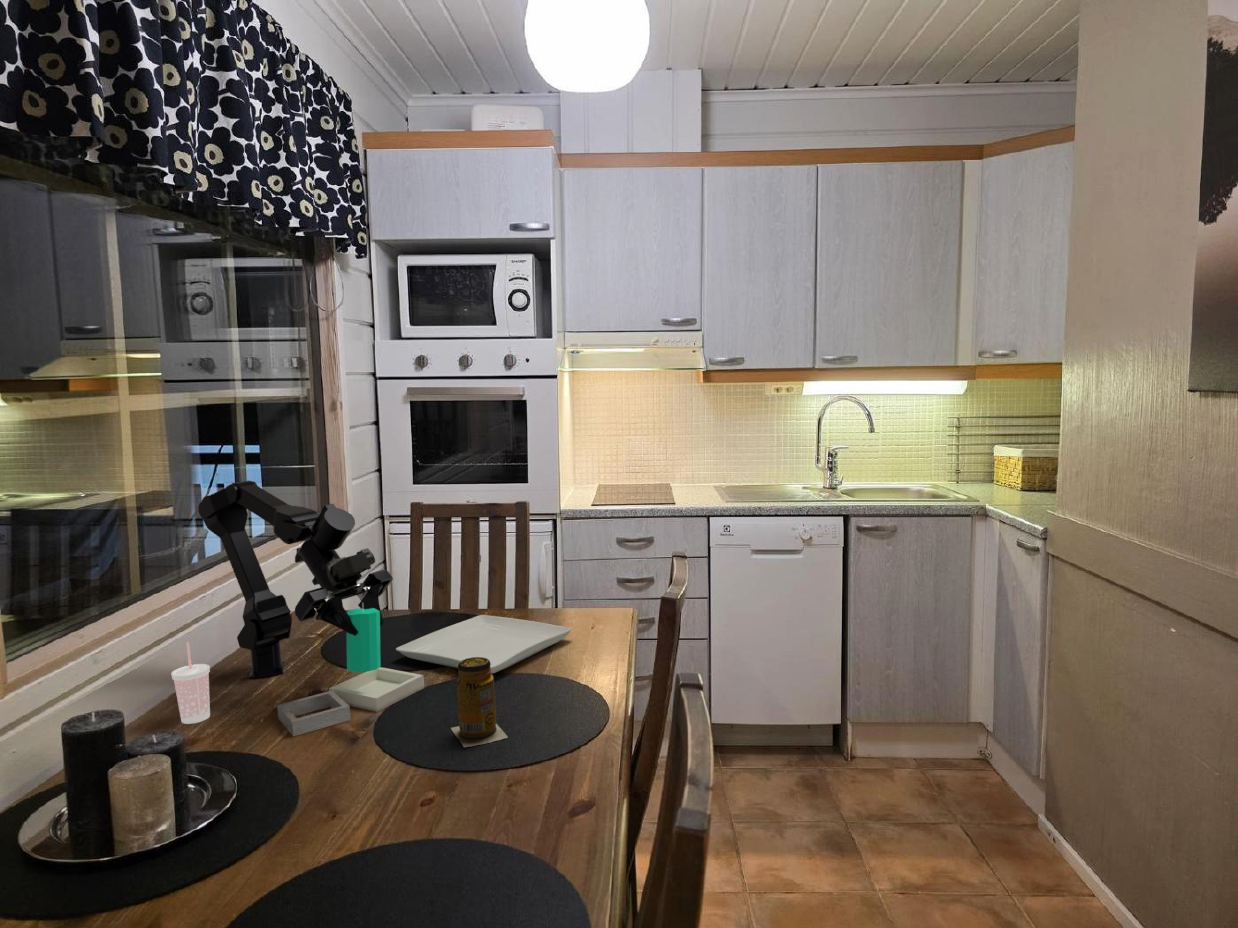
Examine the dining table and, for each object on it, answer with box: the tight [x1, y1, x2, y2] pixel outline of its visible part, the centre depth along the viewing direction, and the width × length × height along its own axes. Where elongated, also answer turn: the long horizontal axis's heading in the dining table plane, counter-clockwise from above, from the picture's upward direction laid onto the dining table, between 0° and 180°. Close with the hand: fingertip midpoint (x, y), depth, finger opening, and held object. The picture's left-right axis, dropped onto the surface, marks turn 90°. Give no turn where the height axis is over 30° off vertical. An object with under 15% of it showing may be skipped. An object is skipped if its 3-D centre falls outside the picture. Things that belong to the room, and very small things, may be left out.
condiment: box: [450, 657, 509, 748], centre depth 132 cm, size 7×8×12 cm
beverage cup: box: [170, 641, 211, 725], centre depth 143 cm, size 6×6×14 cm
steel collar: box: [276, 690, 352, 737], centre depth 141 cm, size 10×10×2 cm
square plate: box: [395, 614, 573, 675], centre depth 173 cm, size 27×27×4 cm
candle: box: [345, 603, 382, 673], centre depth 148 cm, size 6×6×12 cm
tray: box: [328, 667, 425, 713], centre depth 151 cm, size 12×12×2 cm
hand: (369, 629), depth 148 cm, fingers closed on candle, 5 cm apart
